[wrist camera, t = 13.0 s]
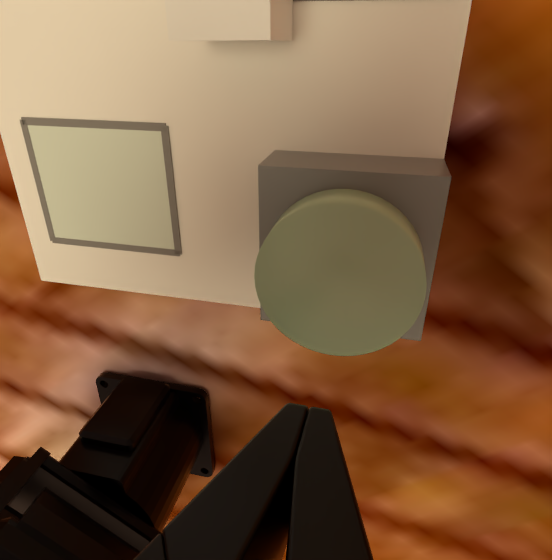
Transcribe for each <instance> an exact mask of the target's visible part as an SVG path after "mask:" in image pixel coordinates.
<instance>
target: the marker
mask: <svg viewBox="0 0 552 560" xmlns="http://www.w3.org/2000/svg"><path fill="white" fill-rule="evenodd" d="M165 9H166V19H167V28H168V38H169V41H292V26H293V0H165Z"/></svg>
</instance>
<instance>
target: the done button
mask: <svg viewBox="0 0 552 560" xmlns="http://www.w3.org/2000/svg"><path fill="white" fill-rule="evenodd" d="M254 279H255V288H256V292H257V296H258V299H259V301H260V304H261V306H262V308H263V310H264V312H265V314H266V315H267V316H268V318H269V319H270V321H271V322H272V323H273V324H274V325H275V326H276V327H277V329H279V330H280V331H281V332H282V333H283V334H284V335H285V336H287V337H288V338H290V339H291V340H292V341H294V342H296V343H298V344H299V345H301V346H303V347H306V348H308V349H310V350H313V351H316V352H320V353H324V354H329V355H336V356H355V355H363V354H367V353H371V352H374V351H377V350H380V349H382V348H384V347H386V346H388V345H390V344H392V343H393V342H395V341H396V340H398V339H399V338H401V337H402V336H403V335H404V334H405V333H406V332H407V331H408V330H409V329H410V328H411V326H412V325H413V324H414V323H415V321H416V319H417V318H418V316H419V314H420V312H421V310H422V307H423V304H424V301H425V297H426V288H427V283H426V271H425V263H424V255H423V250H422V245H421V242H420V240H419V237H418V234H417V233H416V231H415V229H414V227H413V225H412V224H411V223H410V221H409V220H408V219H407V217H406V216H405V215H404V214H403V213H402V212H401V211H400V210H399V209H397V208H396V207H395V206H393V205H392V204H391V203H389V202H387V201H386V200H384V199H382V198H380V197H378V196H375V195H373V194H371V193H367V192H363V191H360V190H353V189H331V190H324V191H320V192H317V193H314V194H311V195H309V196H306V197H304V198H303V199H301V200H299V201H297V202H296V203H294V204H293V205H292V206H291V207H289V208H288V209H287V210H286V211H285V212H284V213H283V214H282V215H281V217H280V218H279V219H278V221H277V222H276V224H275V225H274V227H273V228H272V230H271V231H270V233H269V234H268V236H267V237H266V239H265V240H264V242H263V244H262V246H261V248H260V250H259V253H258V256H257V259H256V264H255V273H254Z"/></svg>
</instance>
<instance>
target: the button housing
mask: <svg viewBox="0 0 552 560" xmlns="http://www.w3.org/2000/svg"><path fill="white" fill-rule="evenodd" d="M450 182H451V175H450V172H449V170H448V167H447V165H446V162H445V160H444V159H437V158H418V157H399V156H380V155H361V154H342V153H323V152H304V151H285V150H274V151H273V152H272V153H271V154H270V155H269V156H268V157H267V158H266V159H264V160H263V161H262V162H261V163H260V164H259V165H258V194H259V250H260V248H261V246H262V244H263V242H264V240H265V239H266V237H267V236H268V234H269V233H270V231H271V230H272V228H273V227H274V225H275V224H276V222H277V221H278V219H279V218H280V217H281V215H282V214H283V213H284V212H285V211H286V210H287V209H288V208H289V207H291V206H292V205H293V204H294V203H296V202H297V201H299V200H301V199H303V198H304V197H306V196H309V195H311V194H314V193H317V192H320V191H324V190H331V189H353V190H360V191H363V192H367V193H371V194H373V195H375V196H378V197H380V198H382V199H384V200H386V201H387V202H389V203H391V204H392V205H393V206H395V207H396V208H397V209H399V210H400V211H401V212H402V213H403V214H404V215H405V216H406V217H407V219H408V220H409V221H410V223H411V224H412V225H413V227H414V229H415V231H416V233H417V234H418V237H419V240H420V242H421V245H422V250H423V255H424V263H425V271H426V283H427V288H426V297H425V301H424V304H423V307H422V310H421V312H420V314H419V316H418V318H417V319H416V321H415V323H414V324H413V325H412V326H411V328H410V329H409V330H408V331H407V332H406V333H405V334H404V335H403V336H402V337H401V338H402V339H410V340H417V341H421V337H422V331H423V326H424V321H425V315H426V310H427V305H428V299H429V294H430V289H431V283H432V278H433V273H434V267H435V262H436V257H437V251H438V246H439V241H440V235H441V230H442V225H443V219H444V214H445V209H446V203H447V198H448V193H449V187H450ZM260 310H261V320H266V321H270V319H269V318H268V316H267V315H266V314H265V312H264V310H263V308H262V306H261V304H260Z"/></svg>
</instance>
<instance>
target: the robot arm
mask: <svg viewBox="0 0 552 560" xmlns="http://www.w3.org/2000/svg"><path fill="white" fill-rule="evenodd" d="M96 385H97V389H98V393H99V397H100V401H101V406H100V407H99V408H98V410H97V411H96V412H95V413H94V414H93V416H92V417H91V418H90V419H89V421H88V422H87V423H86V424H85V426H84V427H83V428H82V429H81V431H80V432H79V435H80V436H79V437H78V439H77V440H76V441H75V442H74V444H73V445H72V446H71V447H70V449H69V450H68V451H67V452H66V454H65V455H64V456H63V457H62V459H61V460H60V461H59V462H58V461H57V460H55V459H54V458H53V457H51V456H50V454H51V453H49V452H48V451H46V450H45V449H44V448H42V447H40V448H39V449H38V450H37V451H36V452H35V454H34V455H33V456H32V457H31V458H29V457H27V458H26V457H17V456H14V457H13V458H12V459H11V460H10V461H9V462H8V463H7V464H6V465H5V466H4V468H3V469H2V470H1V471H0V560H282V558H283V555H284V552H285V549H286V545H287V550H286V560H373V556H372V553H371V549H370V546H369V542H368V539H367V535H366V532H365V528H364V525H363V521H362V518H361V514H360V511H359V507H358V503H357V500H356V496H355V493H354V489H353V486H352V482H351V479H350V475H349V472H348V468H347V465H346V461H345V458H344V454H343V451H342V447H341V444H340V440H339V437H338V433H337V430H336V426H335V423H334V419H333V416H332V413H331V411H330V410H328V409H322V408H317V407H311V408H310V409H308V407H307V406H305V405H299V404H293V403H288V404H286V405H285V406H284V407H283V408H282V409H281V410H280V411H279V412H278V413H277V414H276V415H275V416H274V417H273V418H272V419H271V420H270V421H269V422H268V423H267V424H266V425H265V426H264V427H263V428H262V429H261V430H260V431H259V432H258V433H257V434H256V435H255V436H254V437H253V438H252V439H251V440H250V442H249V443H248V444H247V445H246V446H245V447H244V448H243V449H242V450H241V451H240V452H239V453H238V454H237V455H236V456H235V457H234V458H233V459H232V460H231V461H230V462H229V463H228V464H227V465H226V466H225V467H224V468H223V469H222V470H221V471H220V472H219V473H218V474H217V475H216V476H215V477H214V478H213V479H212V480H211V481H210V482H209V483H208V484H207V485H206V486H205V487H204V488H203V489H202V490H201V491H200V492H199V493H198V494H197V495H196V496H195V497H194V498H193V499H192V501H191V502H190V503H189V504H188V505H187V506H186V507H185V508H184V509H183V510H182V511H181V512H180V513H179V514H178V515H177V516H176V517H175V518H174V519H173V520H172V521H171V522H170V523H169V524H168V525H167V526H166V527H165V528H164V526H165V524H166V522H167V520H168V518H169V516H170V514H171V512H172V509H173V507H174V505H175V503H176V501H177V499H178V497H179V495H180V493H181V491H182V488H183V486H184V484H185V482H186V480H187V478H188V476H189V474H195V475H199V476H204V477H210V476H211V475H212V474H213V472H214V469H215V462H214V451H213V440H212V429H211V418H210V407H209V397H208V394H207V392H206V391H204V390H203V389H200V388H196V387H190V386H184V385H178V384H172V383H166V382H160V381H154V380H148V379H142V378H137V377H131V376H125V375H119V374H113V373H107V372H103V373H101V374H100V376H99V377H98V378H97V379H96ZM197 397H199V398H200V399H199V398H197ZM163 528H164V529H163Z"/></svg>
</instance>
